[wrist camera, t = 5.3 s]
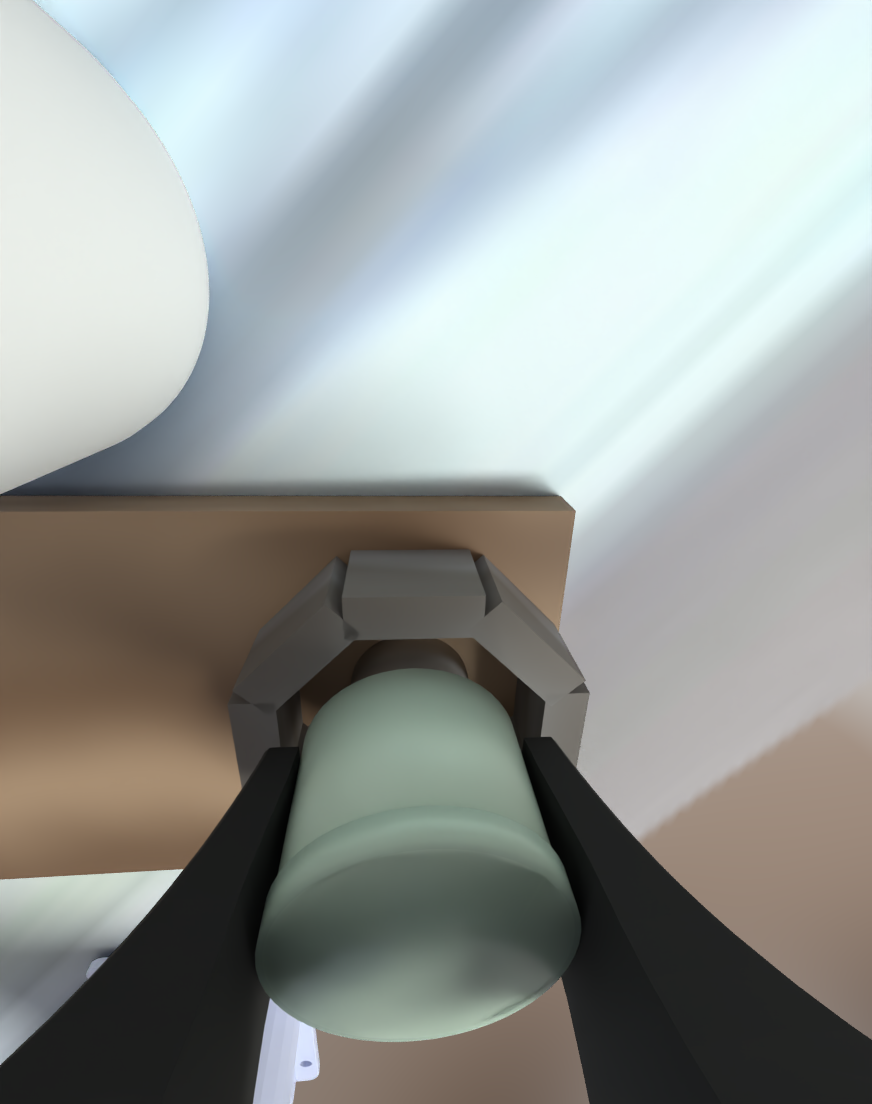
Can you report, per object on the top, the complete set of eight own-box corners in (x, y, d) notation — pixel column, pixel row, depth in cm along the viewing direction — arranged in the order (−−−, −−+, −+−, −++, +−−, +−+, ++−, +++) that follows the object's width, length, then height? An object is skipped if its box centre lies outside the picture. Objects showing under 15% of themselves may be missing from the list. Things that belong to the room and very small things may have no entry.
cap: (508, 827, 13) (557, 1028, 9) (304, 837, 12) (269, 1053, 9) (532, 662, 11) (608, 834, 7) (290, 666, 10) (236, 854, 7)
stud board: (519, 818, 18) (547, 925, 15) (-18, 845, 17) (-119, 972, 13) (560, 496, 13) (615, 549, 10) (-186, 495, 12) (-406, 557, 9)
